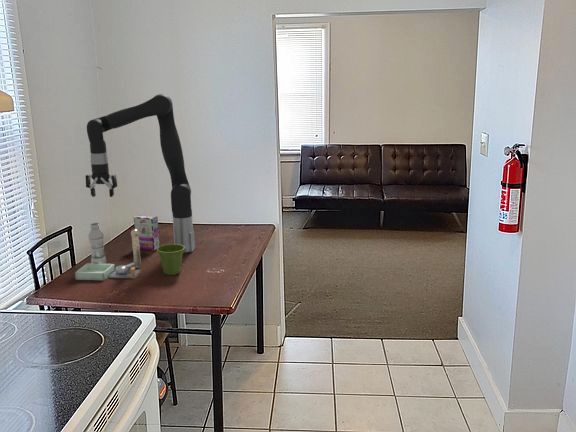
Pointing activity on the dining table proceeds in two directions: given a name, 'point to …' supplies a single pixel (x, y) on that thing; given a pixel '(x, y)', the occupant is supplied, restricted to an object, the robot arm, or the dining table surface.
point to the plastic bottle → (97, 245)
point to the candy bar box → (147, 231)
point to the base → (125, 274)
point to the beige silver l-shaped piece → (136, 254)
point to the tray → (94, 271)
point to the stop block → (132, 270)
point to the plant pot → (171, 258)
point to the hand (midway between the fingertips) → (102, 196)
